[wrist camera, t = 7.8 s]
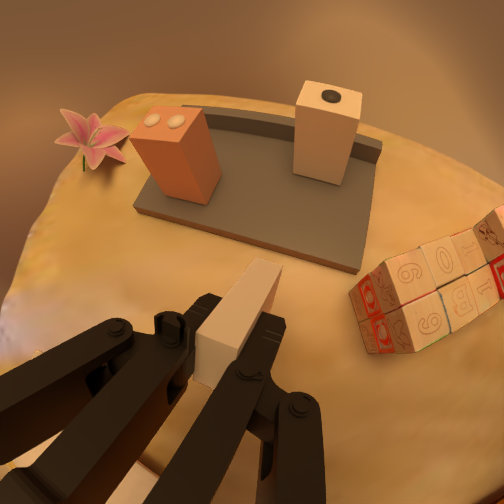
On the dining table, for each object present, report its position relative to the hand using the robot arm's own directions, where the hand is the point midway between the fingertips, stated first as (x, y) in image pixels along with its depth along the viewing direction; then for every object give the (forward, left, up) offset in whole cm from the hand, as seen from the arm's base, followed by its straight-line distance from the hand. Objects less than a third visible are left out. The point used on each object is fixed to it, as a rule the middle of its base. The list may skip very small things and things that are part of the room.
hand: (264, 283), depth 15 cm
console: (+5, -13, -10) cm, 17 cm away
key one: (-1, -16, -8) cm, 18 cm away
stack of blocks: (-17, -7, -10) cm, 21 cm away
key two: (+11, -10, -8) cm, 17 cm away
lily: (+28, -12, -10) cm, 32 cm away
